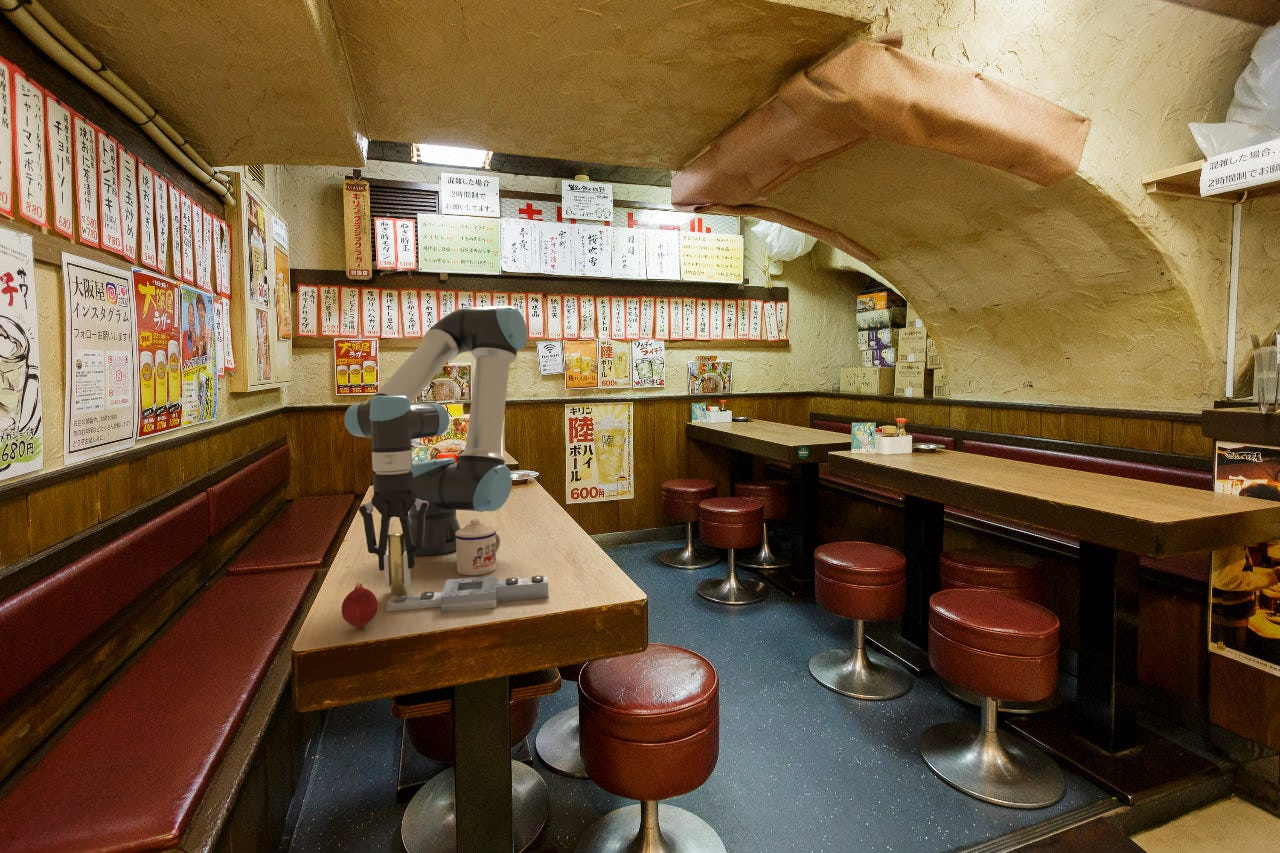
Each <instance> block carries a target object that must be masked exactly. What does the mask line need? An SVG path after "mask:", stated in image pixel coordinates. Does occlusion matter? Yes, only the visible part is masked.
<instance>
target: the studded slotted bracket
mask: <svg viewBox="0 0 1280 853" xmlns="http://www.w3.org/2000/svg"><path fill="white" fill-rule="evenodd" d="M544 598H545V599H546V598H547V599H548V598H549V581H548V576H546V575H545V576H543V575H533V576H531V577H524V578H518V577H515V576H513V577H508V578H506V579H500V580H498V575H491V576H489V575H488V576H478V577H477V576H476V577H465V578H455V579H454V578H451V579H449V578H448V579H446V580H445V583H444V586H443V589H442V591H440V592H434V591H424V592H422V593H418V594H417V593H416V594H407V593H402V594H394V595H393V596H390V598H389V600H388V602H387V603H386V606H387V607H386V609H387V610H386V611H387V612H396V611H397V612H398V611H409V610H421V609H433V607H434V608H440V610H441V611H440V613H441V612H442V613H450V612H451V613H452V612H462V611H474V610H486V609H495V608H497V604H498V603H500V602H512V601H522V600H523V601H524V600H533V599H534V600H535V599H544Z"/></svg>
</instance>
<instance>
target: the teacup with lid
mask: <svg viewBox="0 0 1280 853" xmlns="http://www.w3.org/2000/svg"><path fill="white" fill-rule="evenodd" d="M480 522H481V521H480V520H479V518H478V519H476V518H474V519H471V521H470V524H467V525H466V526H464V527H461V529H459V530H458V531H456V533H455V537H456V568H457V569H456V571H457V573H458V574H460V575H463V576H469V577H470V576H481V575H482V576H483V575H486V574H490V573H491V572H493V571H495V570H496V569H497V555H496V553H497V552H498V551H499V549H500V546H501V536H500V535H499V534H498V533H497V531H496V529H495V528H494V527H493V526H487V525H486V524H484V523H480Z"/></svg>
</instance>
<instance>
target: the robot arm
mask: <svg viewBox="0 0 1280 853" xmlns="http://www.w3.org/2000/svg"><path fill="white" fill-rule="evenodd" d="M528 336H529V334H528V328H527V325H526V321H525V319H524V315H522V313H521V312H520V310H519V309H518V308H516V307H514V306H512V305H501V304H499V305H491V306H477V307H464V308H459V309H457V310H456V309H455V310H454V311H452V312H450V313H449V314H447V315H445V316H444V317H442V318H441V319H439V320H438V321H436V323H435V324H433V325H432V327H430V328H429V329H428V330H427V331H426V332H425V334H424V335H423V342H422V343H421V344H420V345H419V346H418V347H417V348H416V349H415V350H414V351H413V353H412V354H411V355H409V357H407V359H406V360H405V361H404V362H403V363H402V364H401V365H400V366H399V368H397V369H396V371H395V372H394V373H393V374H392V375H391V376H389V378H388V379H387V380H386V381H385V383H384V384H383V385H382V386H381V387H380V388H379V389H378V390H377V391H376V392H375V393H374V395H372V397H371V398H370V399H369V400H368V401H366V403H364V402H359V403H354V404H352V405H350V406H349V407H348V408H347V410H346V412H345V415H344V418H343V420H344V425H345V428H346V429H347V431H348V432H349V433H350V434H351V435H352V436H355V437H360V438H369V439H371V462H372V463H371V464H372V465H371V466H372V471H373V472H375V473H374V474H373V475H372V484H373V488H372V489H373V495H372V498H371V501H368V502H367V503H363V504H361V505H360V506H359V507H358V512H359V513H360V516H361V517H362V519H363V525H364V532H365V534H364V535H365V539H366V545H367V546H366V547H367V552H368V553H369V554H374V555H376V556H377V557H378V569H379V572H381V571H383V572H384V588H385V589H388V588H390V571H389V551H388V548H387V547H388V535H389V534H390V533H389V532H390V522H391V518H399V523H400V526H401V530H402V533H403V536H404V554H403V566H404V586H406V587H409V585H410V583H411V569H414V568H415V565H416V557H415V556H419V557H420V556H422V557H423V556H437V555H443V554H448V553H452V552H455V551H456V537H455V533H456V531H458V530H459V529H462V527H461V525H460V523H459V520H458V516H457V511H469V512H470V511H471V512H478V513H484V512H494V511H498V510H499V509H500V508H502V507H503V506H504V504H505V503H506V502H507V500H508V498H509V497H510V494H511V490H512V488H513V487H512V486H513V477H512V472H511V470H510V468H509V467H508V466H506V465H505V463H506V460H505V458H504V457H503V456H502V455H501V446H502V445H501V444H502V436H503V426H504V419H505V411H506V401H507V392H508V385H509V372H510V366H511V364H512V363H514V362H515V361H516V360H517V355H518V351H521V350H523V349H525V348H526V346H527V343H528ZM466 352H470V354H471V355H472V357H474V359H475V369H474V379H473V385H472V393H471V394H472V395H471V401H470V408H469V417H468V426H467V433H466V434H467V435H466V443H465V449H464V450H463V451H462V452H460V454H458V456H457V463H456V462H455V459H454V458H453V457H445V458H437V459H436V458H435V459H431V460H425V461H418V462H413V448H412V446H413V445H412V444H413V443H412V440H417V439H418V440H419V439H425V438H426V439H427V438H430V439H431V438H434V437H438V436H440V435H443V434H444V433H445V432H446V431H447V430H448V427H449V424H450V416H449V412H448V410H447V409H446V408H445V407H444V406H443V405H442V404H439V403H436V402H435V403H434V402H423V403H413V402H414V401H415V400H416V398H417V397H418V396H419V395H420V394H421V393H422V392H423V391H424V389H425V388H426V387H427V386H428V385H429V383H430V382H431V381H432V380H433V379H434V378H435V376H436V375H437V374H438V372H440V371H441V369H442V368H443V367H444V366H445V365H446V363H447V362H450V361H454V359H456V358H457V357H458V356H459V355H460V354H462V353H466ZM374 508H375V509H376V510H377V511H378V513H379V514H380V515H381V516H380V517H381V518H380V530H379V537H378V538H379V541H378V545H377V539H376V538H377V537H376V531H375V525H374V518H373V511H374Z"/></svg>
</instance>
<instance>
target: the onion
mask: <svg viewBox="0 0 1280 853" xmlns="http://www.w3.org/2000/svg"><path fill="white" fill-rule="evenodd" d="M377 599H378V598H377V596H376V595H375V594H374V593H373V592H372V591H371V590H369V589H368V588H365V587H364V586H363V584H362V583H361V582H357V583H356V584H355V587H354V589H353V590H351V591H350V592H349V593H348V594H347V595H346V596H345V598H344V599H343V601H342V604H341V615H342V618H343V619H344V621H345V622H346V623H347V624H348V625H350V626H352V627H355V628H357V629H363V628H365V627H366V626H367V625H368V624H369V623H370V622H371V621H372V620H373V619H374V618H375V617H376V615H377V613H378V610H379V602H378V600H377Z"/></svg>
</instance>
